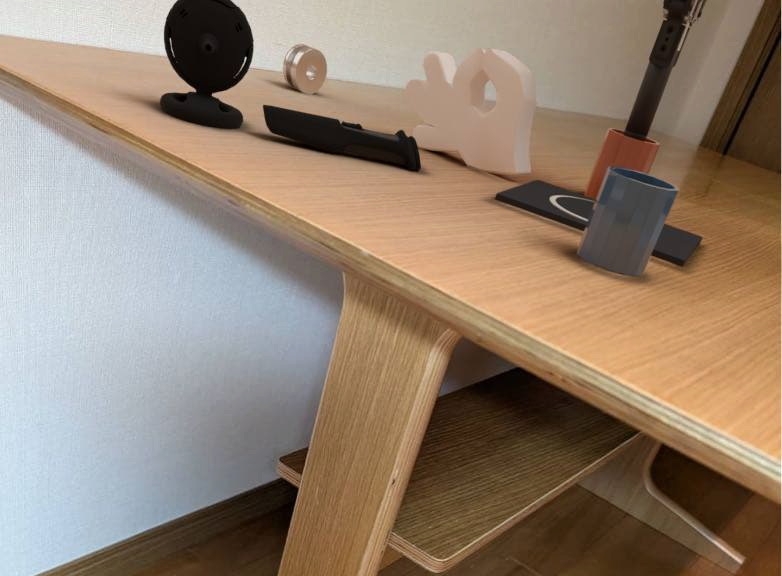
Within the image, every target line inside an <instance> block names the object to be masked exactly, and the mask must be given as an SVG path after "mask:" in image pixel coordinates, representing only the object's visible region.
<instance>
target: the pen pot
mask: <svg viewBox="0 0 782 576" xmlns="http://www.w3.org/2000/svg"><path fill="white" fill-rule="evenodd" d="M624 131H625V129H624V130H623V129H620V128H616V127H615V128H614V127H608V128H607V130H606V133H605V135H604V137H603V141H602V144H601V147H600V148H599V152H598V154H597V157H596V160H595V163H594V166H593V168H592V171H591V173H590V176H589V178H588V182H587V184H586V187H585V190H584V194H583V195H584V196H587V197H590V198H592V199H595V200H596V198H597V195H598V192H599V190H600V187H601V184H602V182H603V179H604V176H605V174H606V171H607V168H608V167H610V166H615V167H622V168H627V169H631V170H635V171H638V172H642V173H645V174H648V175H649V173H650V171H651V168H652V166H653V164H654V161H655V158H656V157H657V153H658V151H659V148H660V146H661V143H660V142H658V141H656V140H654V139H652V138H650V137H646V139H645V140H644V141H641V140H637V139H634V138H631V137H628V136H625V135H624Z"/></svg>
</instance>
